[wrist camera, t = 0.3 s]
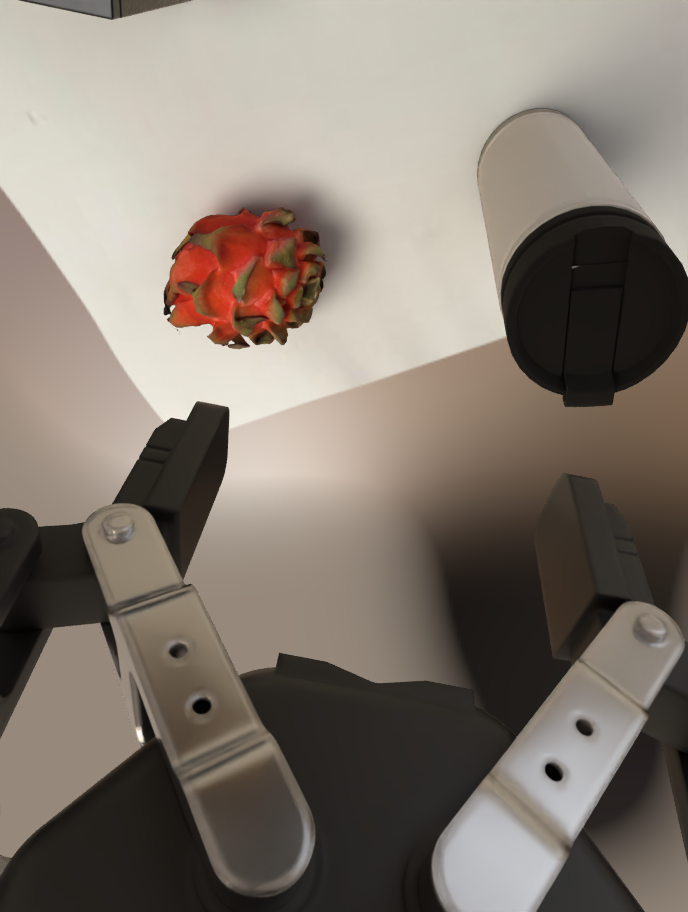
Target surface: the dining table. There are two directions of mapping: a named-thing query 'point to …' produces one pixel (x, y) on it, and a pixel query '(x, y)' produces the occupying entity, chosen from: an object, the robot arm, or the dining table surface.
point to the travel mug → (576, 262)
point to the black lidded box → (144, 6)
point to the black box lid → (85, 6)
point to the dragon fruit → (245, 277)
